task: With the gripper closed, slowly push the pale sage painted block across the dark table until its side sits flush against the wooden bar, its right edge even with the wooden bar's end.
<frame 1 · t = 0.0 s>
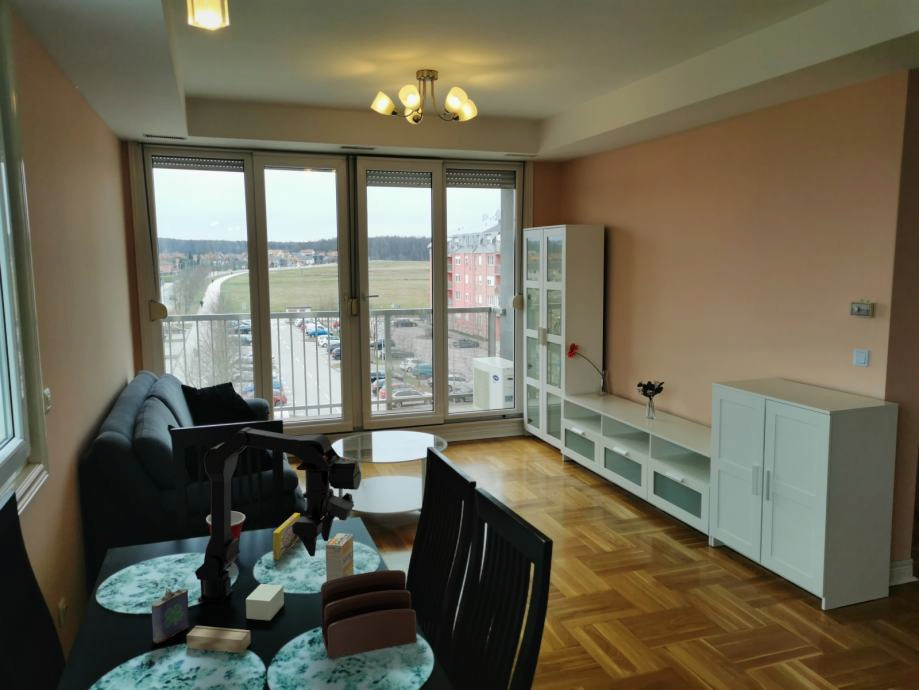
hand: (319, 548, 167), 15 cm above the table, fingers open, 9 cm apart
flask: (171, 634, 156), on the table
block: (265, 611, 166), on the table
supplement box: (340, 587, 179), on the table
letter holder: (369, 640, 153), on the table
wooden bar: (219, 645, 151), on the table
candy box: (287, 549, 203), on the table
plastic cup: (227, 556, 198), on the table
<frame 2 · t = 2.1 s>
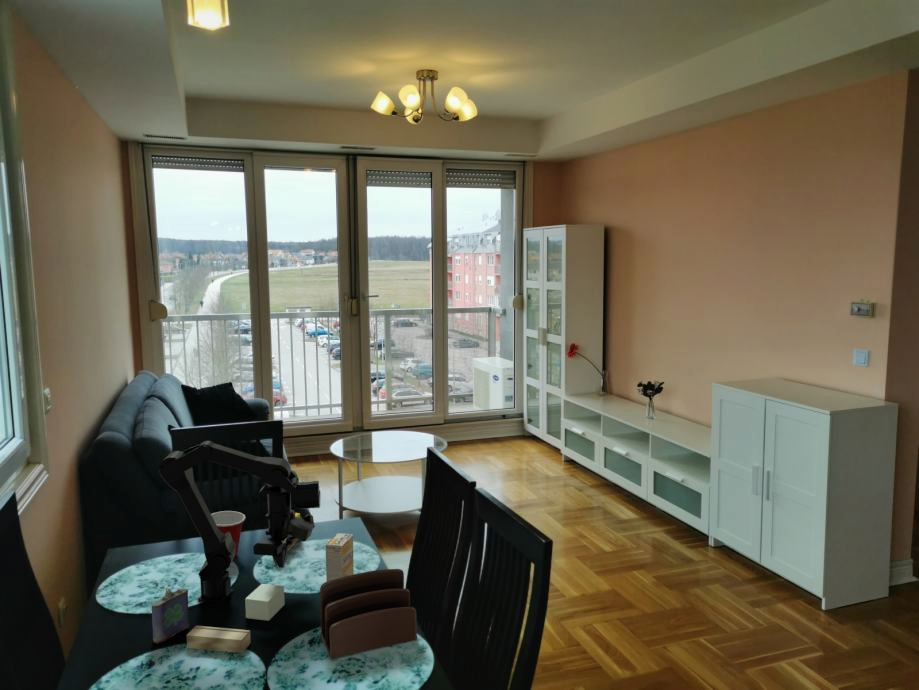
hand: (281, 567, 175), 7 cm above the table, fingers closed
nothing on the table moved.
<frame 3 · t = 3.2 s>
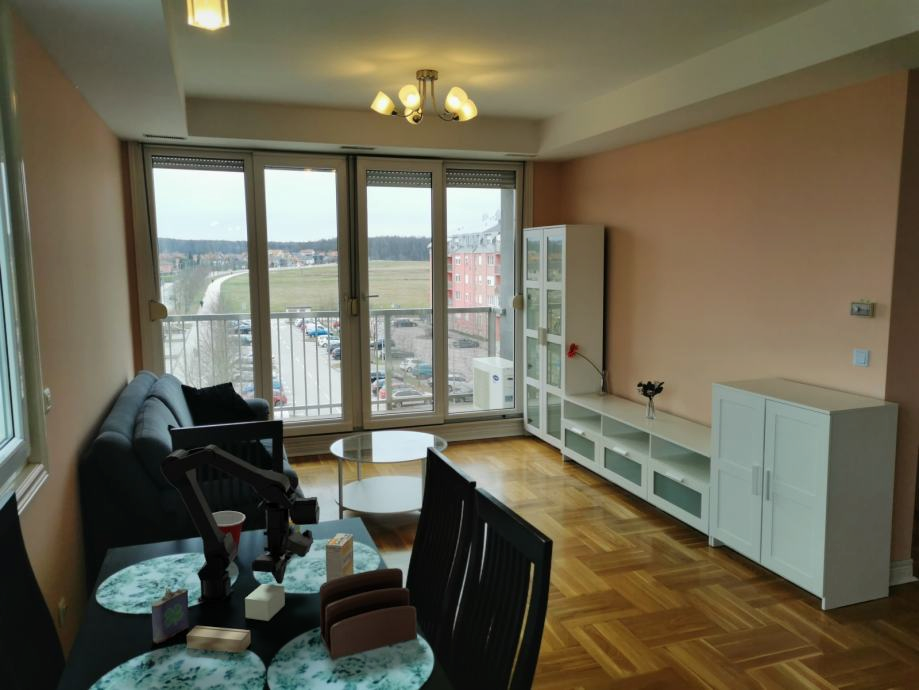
hand: (280, 583, 174), 3 cm above the table, fingers closed
nothing on the table moved.
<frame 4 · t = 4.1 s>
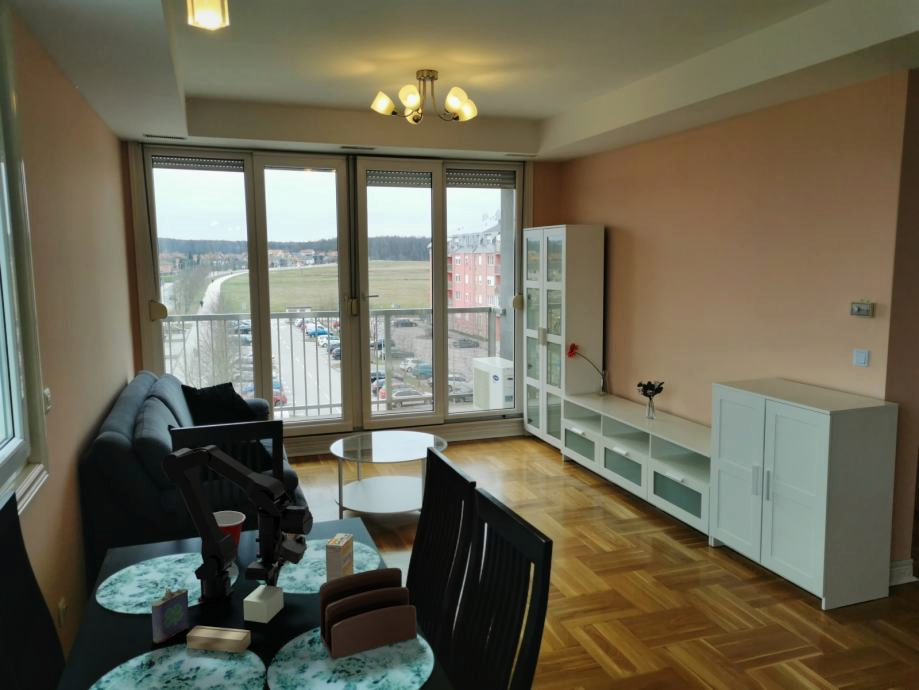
hand: (272, 590, 170), 3 cm above the table, fingers closed
block: (264, 613, 165), on the table, touching gripper
everything else where it was.
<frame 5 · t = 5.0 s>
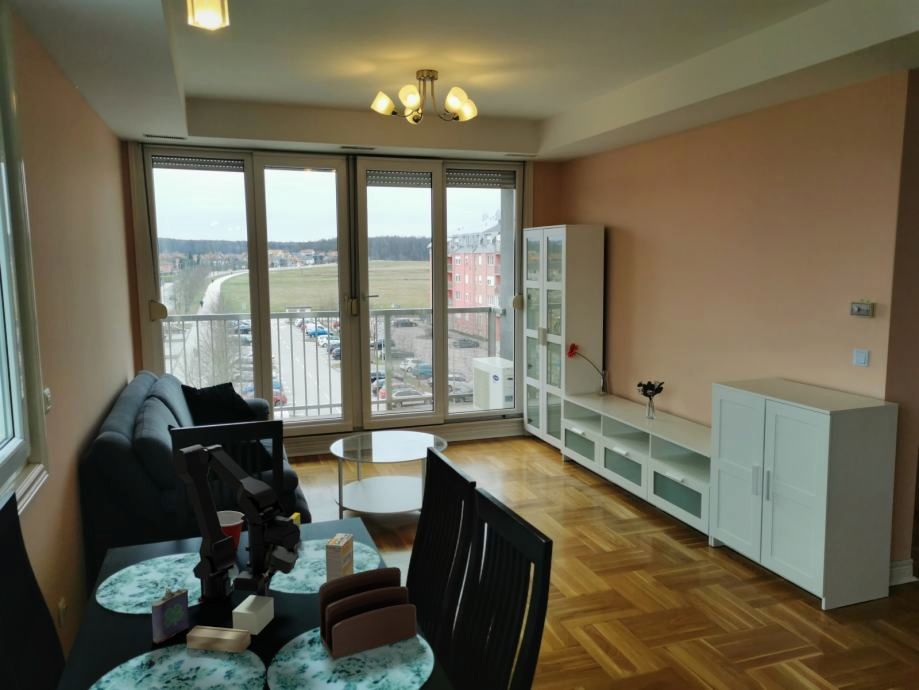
hand: (263, 601, 165), 3 cm above the table, fingers closed
block: (254, 624, 160), on the table, touching gripper
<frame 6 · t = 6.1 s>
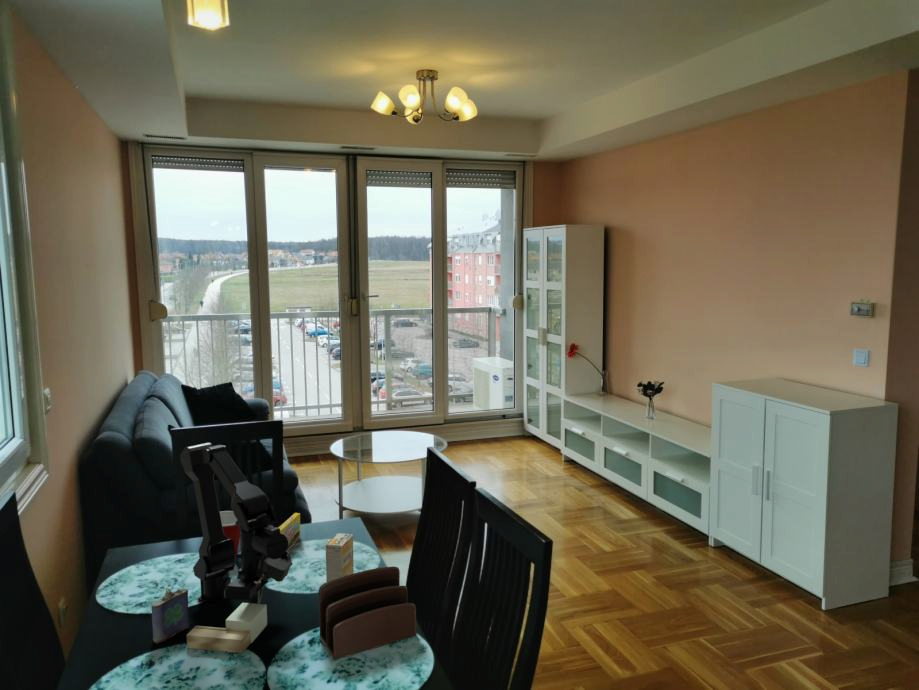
hand: (256, 608, 161), 3 cm above the table, fingers closed
block: (247, 632, 156), on the table, touching wooden bar, gripper
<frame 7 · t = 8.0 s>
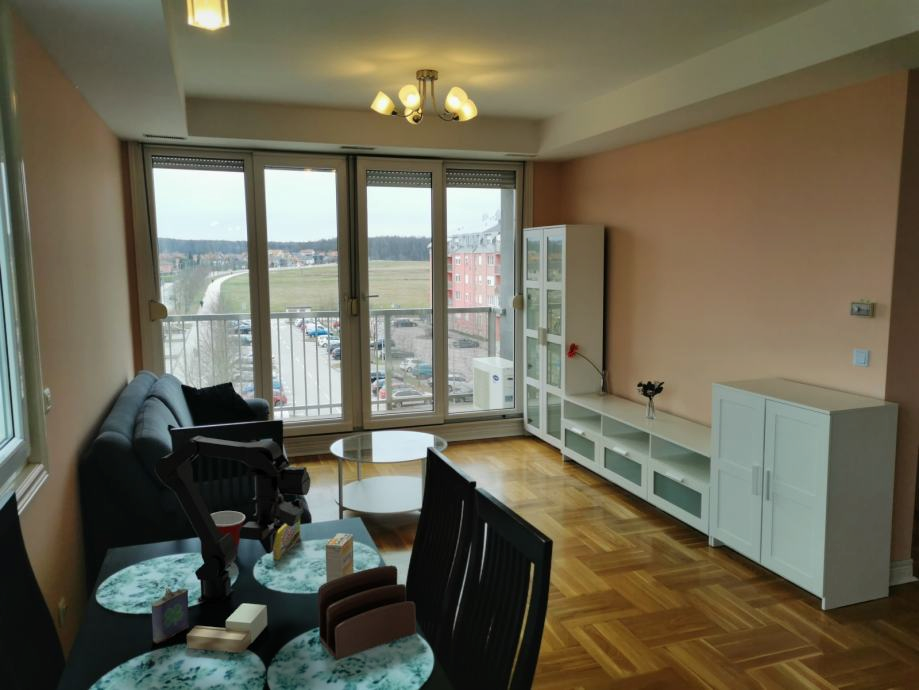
hand: (269, 552, 170), 12 cm above the table, fingers closed
block: (247, 633, 156), on the table
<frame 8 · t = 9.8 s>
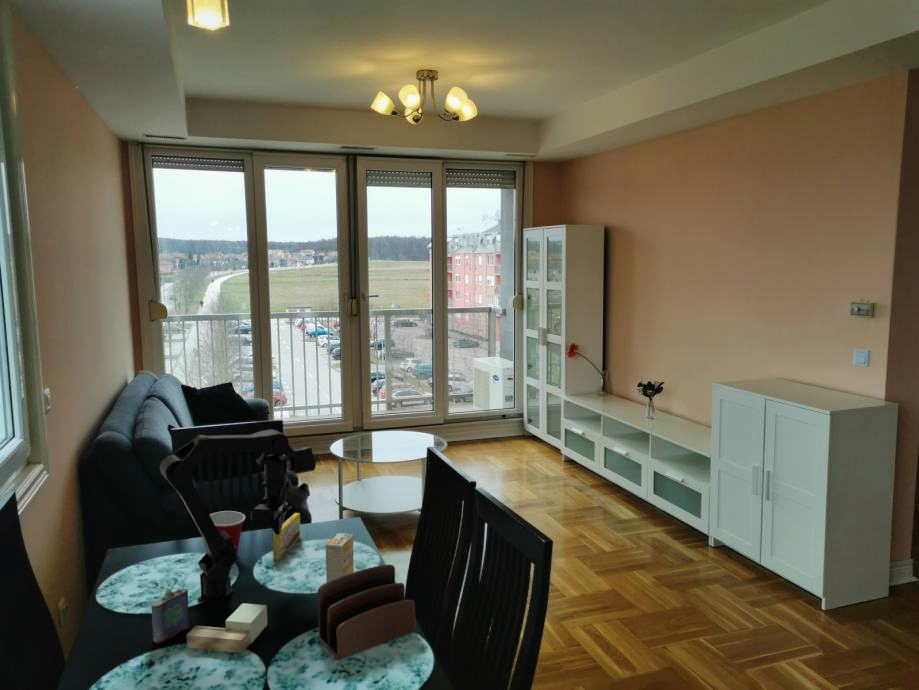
hand: (277, 534, 182), 12 cm above the table, fingers closed
at the end: block 0.8 cm from the target spot on the table beside the wooden bar, on the table; block tilted 0° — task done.
